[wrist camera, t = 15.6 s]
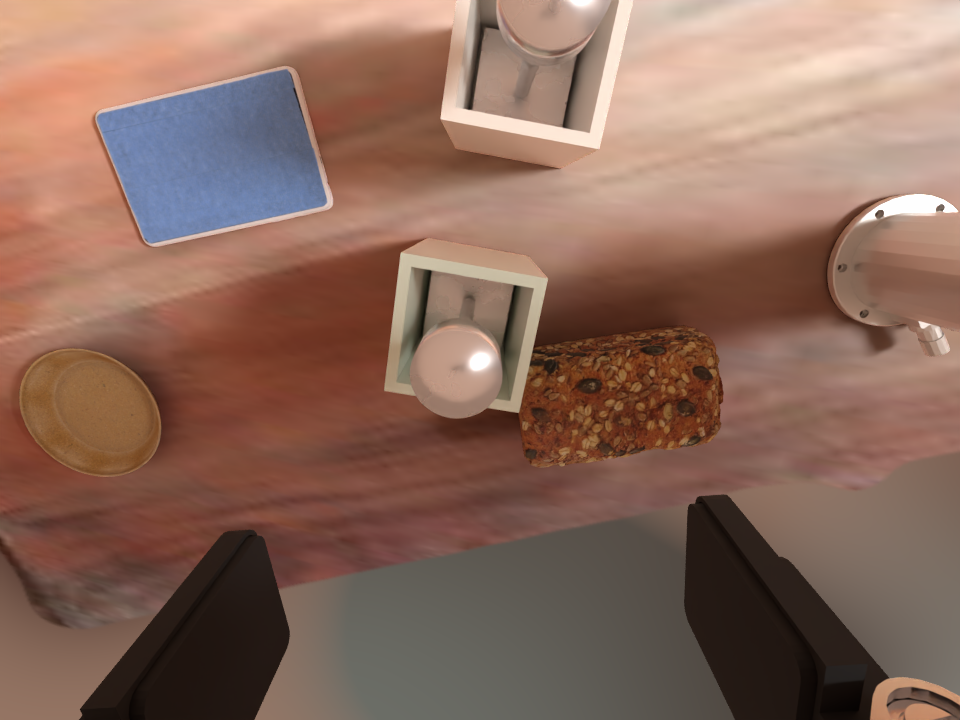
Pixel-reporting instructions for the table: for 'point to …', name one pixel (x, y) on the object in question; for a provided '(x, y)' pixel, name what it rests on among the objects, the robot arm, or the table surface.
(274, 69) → the tablet computer
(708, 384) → the bread
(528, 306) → the press sage
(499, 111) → the plunger white
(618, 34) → the press white
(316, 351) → the table surface
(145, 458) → the plant saucer
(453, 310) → the silver rod piece
